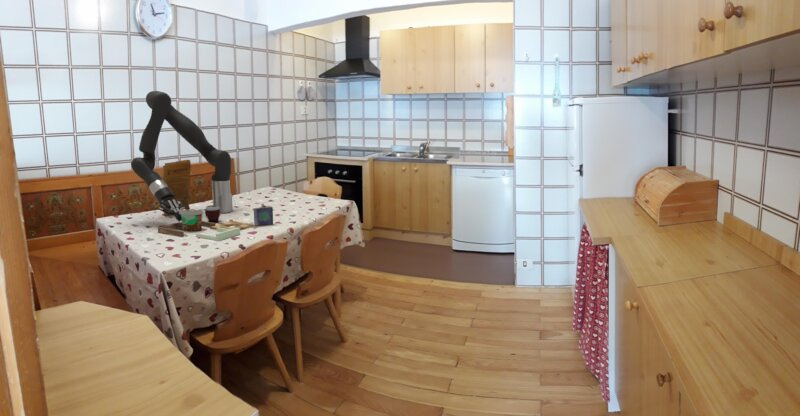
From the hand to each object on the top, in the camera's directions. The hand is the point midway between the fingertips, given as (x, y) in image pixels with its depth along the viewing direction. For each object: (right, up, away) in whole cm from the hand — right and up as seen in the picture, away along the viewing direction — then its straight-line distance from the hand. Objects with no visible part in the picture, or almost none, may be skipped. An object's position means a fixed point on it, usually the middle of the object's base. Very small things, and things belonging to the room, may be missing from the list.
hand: (181, 219), depth 240 cm
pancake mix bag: (-15, +2, +33) cm, 36 cm away
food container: (+4, -5, -1) cm, 7 cm away
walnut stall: (+3, -5, -1) cm, 6 cm away
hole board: (+22, -4, +5) cm, 23 cm away
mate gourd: (+10, -2, +16) cm, 19 cm away
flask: (+35, -3, +11) cm, 37 cm away
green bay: (+20, -7, -9) cm, 23 cm away
